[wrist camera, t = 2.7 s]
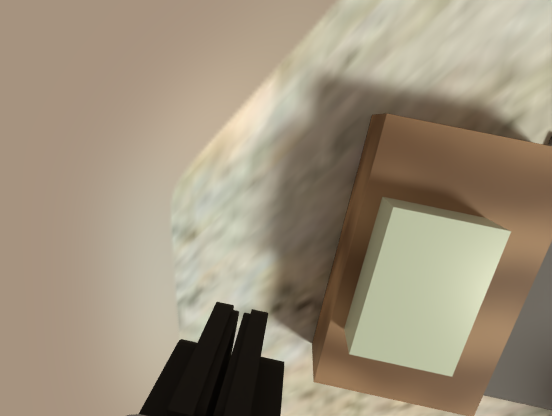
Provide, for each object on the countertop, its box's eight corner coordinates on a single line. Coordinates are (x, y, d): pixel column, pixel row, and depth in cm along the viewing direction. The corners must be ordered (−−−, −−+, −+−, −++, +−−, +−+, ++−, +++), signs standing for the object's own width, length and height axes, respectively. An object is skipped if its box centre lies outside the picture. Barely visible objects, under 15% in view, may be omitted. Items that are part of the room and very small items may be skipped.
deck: (448, 373, 26) (473, 417, 22) (312, 344, 27) (313, 381, 23) (538, 148, 22) (590, 154, 18) (371, 114, 22) (387, 113, 18)
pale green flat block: (436, 348, 21) (452, 376, 19) (344, 329, 21) (349, 354, 19) (485, 217, 19) (511, 231, 17) (382, 196, 19) (393, 206, 17)
